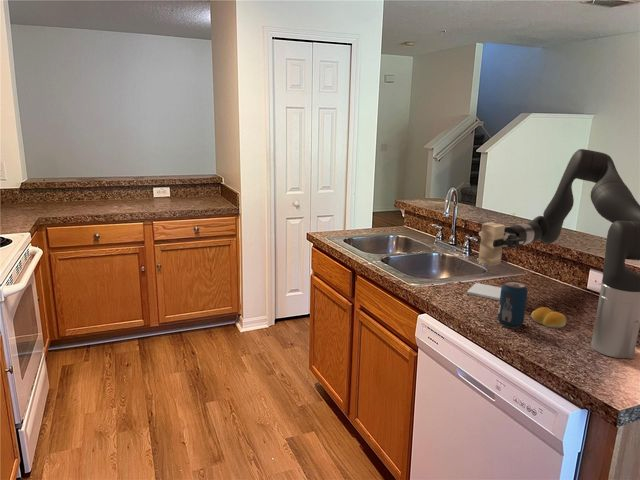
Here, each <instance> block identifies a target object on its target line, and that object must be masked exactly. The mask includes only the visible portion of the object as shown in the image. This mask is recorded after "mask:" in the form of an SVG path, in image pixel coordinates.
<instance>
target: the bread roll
mask: <svg viewBox="0 0 640 480" xmlns="http://www.w3.org/2000/svg"><path fill="white" fill-rule="evenodd" d="M530 316H531V319H532V320H533V322H535V323H537V324H540V325H543V326H545V327H546V328H551V329H552V328H555V329H556V328H558V329H559V328H560V329H561V328H564V327H565V326H566V324H567V317H566V316H565V315H564V314H563V313H561V312H558V311H554V310H552V309H551V308H549V307H544V306H541V307H539V308H536V309H535V310H533V311H531V314H530Z"/></svg>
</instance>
